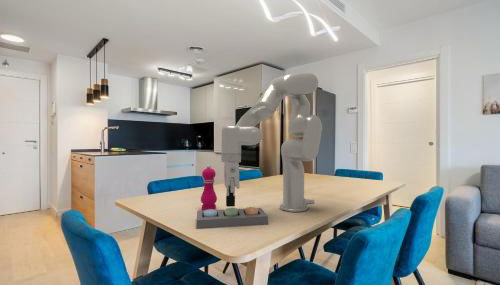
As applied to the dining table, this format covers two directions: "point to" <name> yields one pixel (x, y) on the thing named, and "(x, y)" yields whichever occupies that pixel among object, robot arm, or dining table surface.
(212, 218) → the button panel
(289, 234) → the dining table surface
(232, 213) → the sage button
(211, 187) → the pepper mill
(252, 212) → the terracotta button
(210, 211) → the blue button
